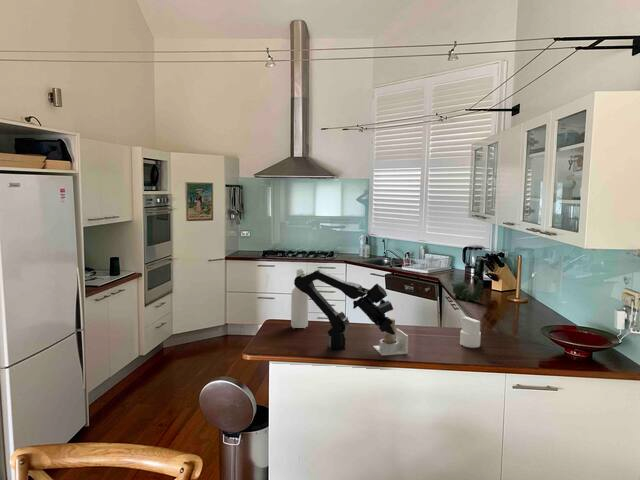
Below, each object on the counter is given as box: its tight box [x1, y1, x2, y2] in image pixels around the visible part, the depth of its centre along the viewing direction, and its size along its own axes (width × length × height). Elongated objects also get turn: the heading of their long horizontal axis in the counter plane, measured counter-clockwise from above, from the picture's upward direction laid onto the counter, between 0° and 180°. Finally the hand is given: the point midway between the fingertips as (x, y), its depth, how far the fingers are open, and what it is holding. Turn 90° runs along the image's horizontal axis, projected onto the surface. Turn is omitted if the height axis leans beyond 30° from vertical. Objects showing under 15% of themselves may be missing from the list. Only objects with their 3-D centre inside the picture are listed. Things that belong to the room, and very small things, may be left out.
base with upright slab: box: [459, 316, 482, 349], centre depth 210 cm, size 9×9×12 cm
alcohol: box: [290, 268, 309, 329], centre depth 233 cm, size 9×9×30 cm
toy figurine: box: [450, 275, 485, 302], centre depth 304 cm, size 9×19×25 cm
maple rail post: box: [383, 317, 396, 344], centre depth 199 cm, size 4×4×12 cm
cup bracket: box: [372, 328, 409, 356], centre depth 200 cm, size 12×11×8 cm
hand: (392, 332), depth 200 cm, fingers closed on maple rail post, 4 cm apart
